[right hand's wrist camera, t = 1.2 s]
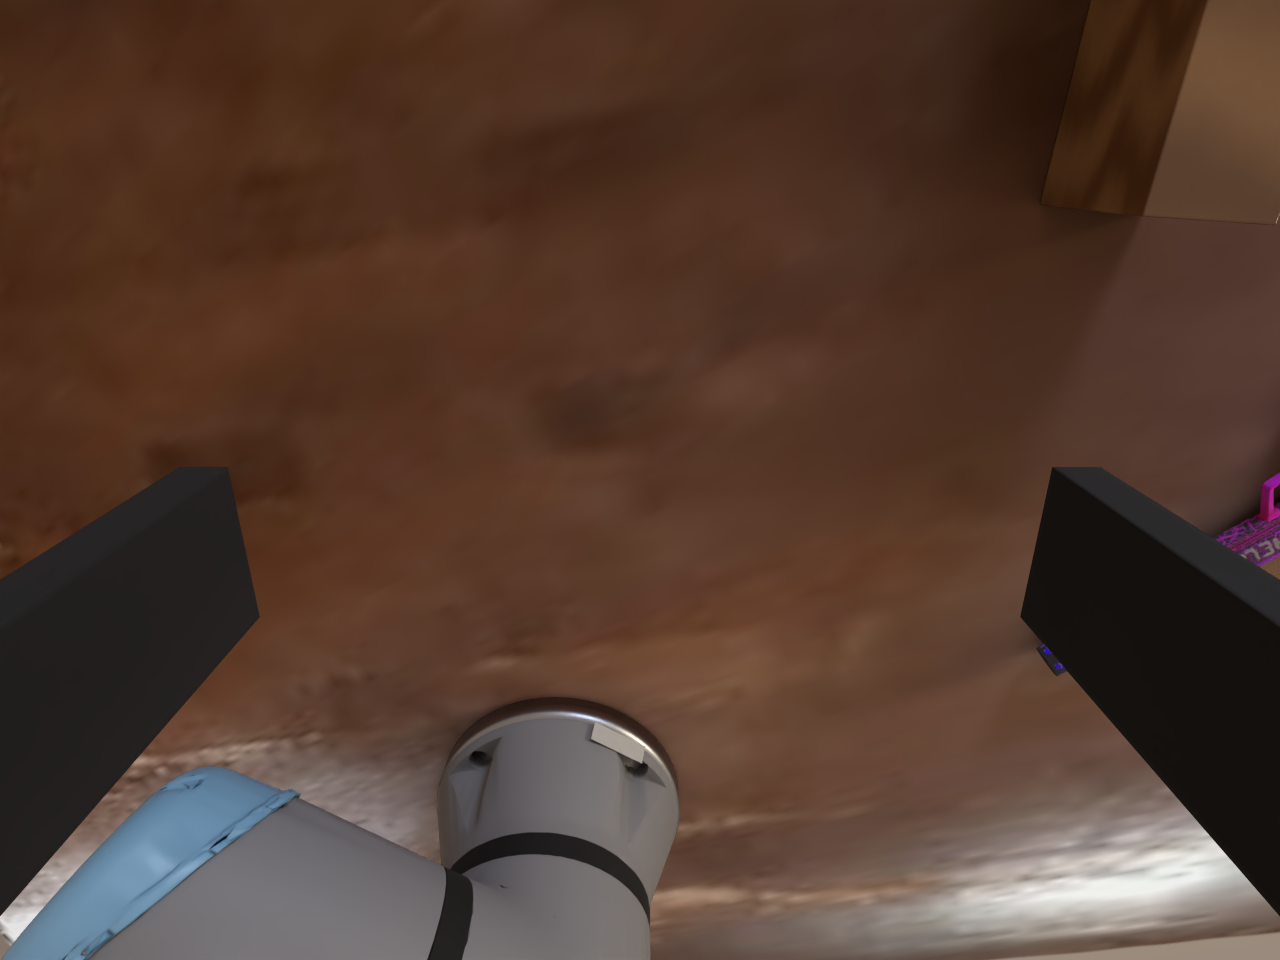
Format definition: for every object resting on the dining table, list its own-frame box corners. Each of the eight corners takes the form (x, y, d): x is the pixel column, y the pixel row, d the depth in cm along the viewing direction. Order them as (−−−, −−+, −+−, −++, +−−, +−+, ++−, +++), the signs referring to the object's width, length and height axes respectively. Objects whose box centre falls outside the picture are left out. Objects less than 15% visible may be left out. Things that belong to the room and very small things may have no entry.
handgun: (1357, 356, 38) (1392, 365, 36) (1407, 470, 40) (1442, 484, 38) (985, 574, 43) (1000, 592, 41) (1047, 666, 45) (1063, 686, 43)
